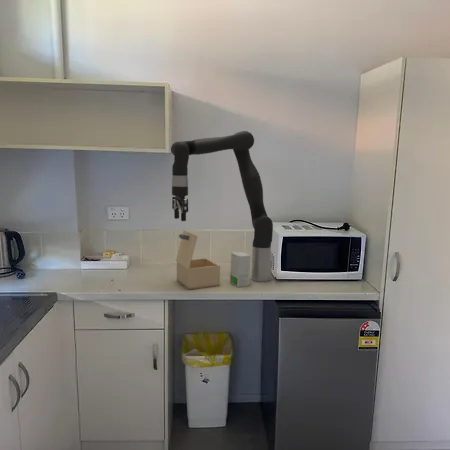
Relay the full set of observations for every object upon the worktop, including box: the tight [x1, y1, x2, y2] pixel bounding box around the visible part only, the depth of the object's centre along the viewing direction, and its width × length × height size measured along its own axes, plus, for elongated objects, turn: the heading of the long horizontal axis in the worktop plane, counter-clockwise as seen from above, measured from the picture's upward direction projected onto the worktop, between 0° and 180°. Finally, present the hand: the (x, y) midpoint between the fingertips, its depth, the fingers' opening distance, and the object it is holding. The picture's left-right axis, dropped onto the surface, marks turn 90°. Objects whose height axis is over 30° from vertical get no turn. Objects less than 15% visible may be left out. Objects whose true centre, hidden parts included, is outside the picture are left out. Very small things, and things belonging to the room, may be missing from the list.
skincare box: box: [229, 250, 251, 288], centre depth 200 cm, size 8×7×16 cm
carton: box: [176, 257, 221, 291], centre depth 201 cm, size 16×16×10 cm
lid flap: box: [175, 229, 198, 269], centre depth 195 cm, size 16×16×5 cm
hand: (180, 219), depth 193 cm, fingers open, 8 cm apart
